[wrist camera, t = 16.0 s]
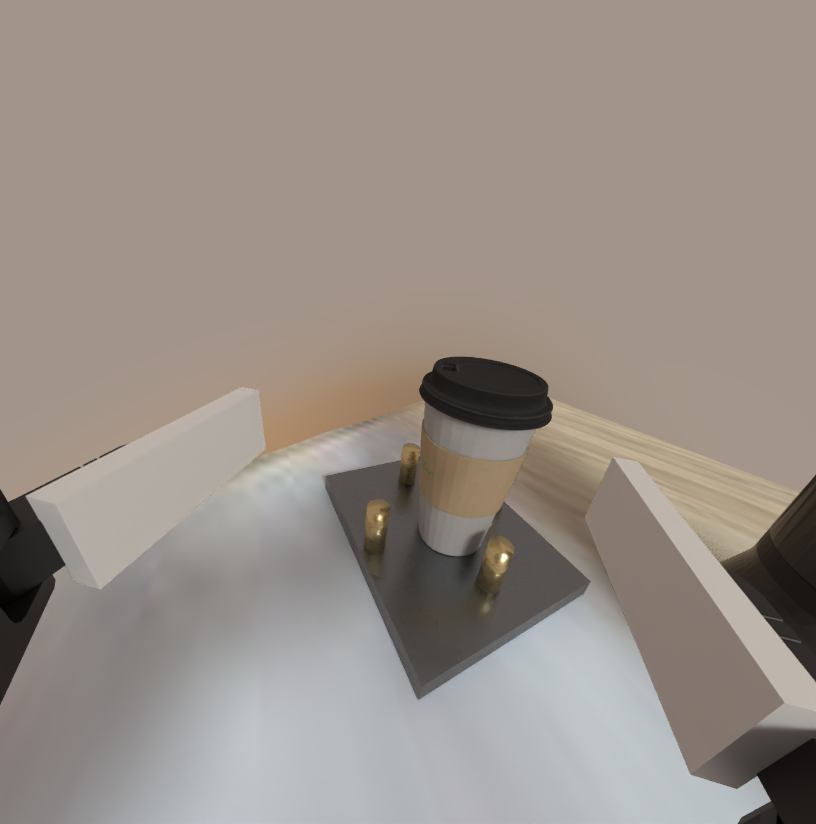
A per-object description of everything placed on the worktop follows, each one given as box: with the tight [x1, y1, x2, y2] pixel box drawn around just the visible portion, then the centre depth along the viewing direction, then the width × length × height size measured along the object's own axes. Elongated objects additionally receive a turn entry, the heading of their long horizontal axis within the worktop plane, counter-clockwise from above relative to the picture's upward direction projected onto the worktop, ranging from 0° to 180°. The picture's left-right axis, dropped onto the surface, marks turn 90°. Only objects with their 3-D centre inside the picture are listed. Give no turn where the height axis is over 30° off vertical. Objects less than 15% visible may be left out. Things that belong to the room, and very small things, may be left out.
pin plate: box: [326, 444, 591, 700], centre depth 28 cm, size 20×16×6 cm
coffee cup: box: [418, 357, 553, 556], centre depth 25 cm, size 9×9×15 cm
